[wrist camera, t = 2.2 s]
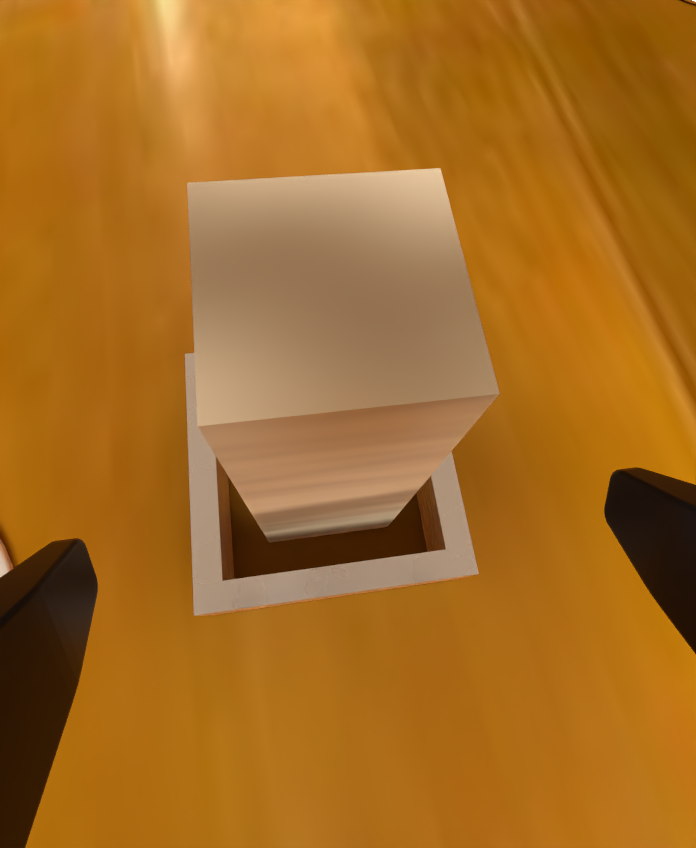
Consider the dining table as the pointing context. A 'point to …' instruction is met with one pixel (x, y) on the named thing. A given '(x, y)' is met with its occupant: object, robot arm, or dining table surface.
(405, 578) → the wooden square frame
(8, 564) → the plate
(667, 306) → the dining table surface
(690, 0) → the wineglass
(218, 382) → the maple block
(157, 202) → the dining table surface
